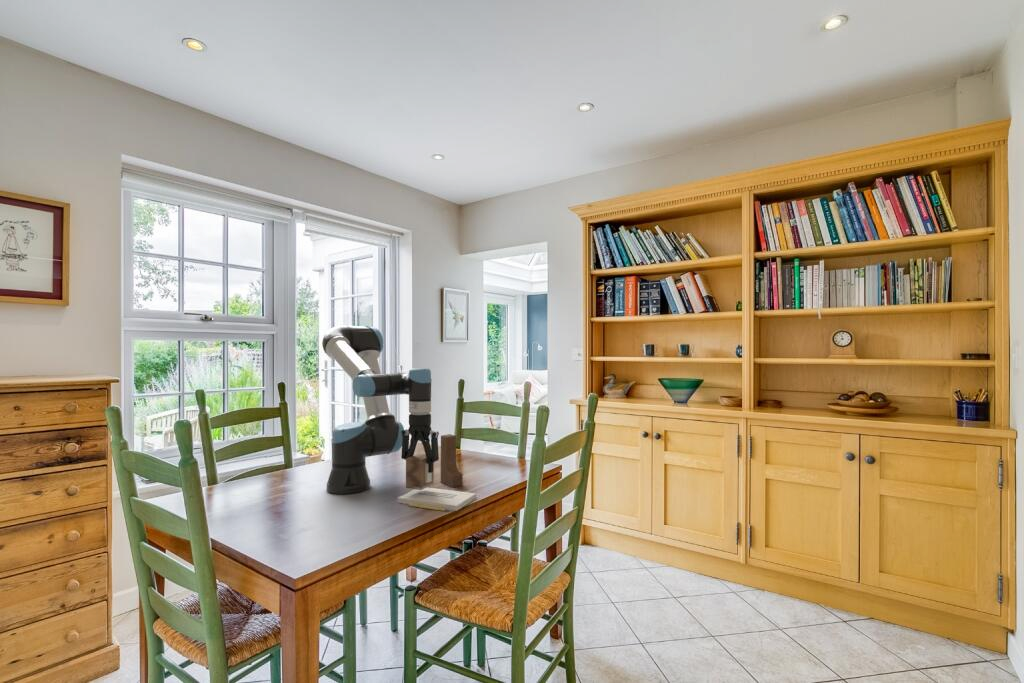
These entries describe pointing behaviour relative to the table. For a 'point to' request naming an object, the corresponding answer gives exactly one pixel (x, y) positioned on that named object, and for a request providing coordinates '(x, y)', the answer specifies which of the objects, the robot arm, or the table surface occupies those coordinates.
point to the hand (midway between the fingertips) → (419, 480)
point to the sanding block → (417, 472)
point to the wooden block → (449, 462)
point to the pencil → (429, 507)
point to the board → (437, 498)
